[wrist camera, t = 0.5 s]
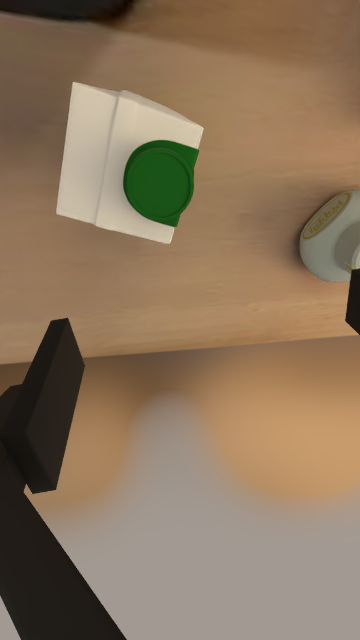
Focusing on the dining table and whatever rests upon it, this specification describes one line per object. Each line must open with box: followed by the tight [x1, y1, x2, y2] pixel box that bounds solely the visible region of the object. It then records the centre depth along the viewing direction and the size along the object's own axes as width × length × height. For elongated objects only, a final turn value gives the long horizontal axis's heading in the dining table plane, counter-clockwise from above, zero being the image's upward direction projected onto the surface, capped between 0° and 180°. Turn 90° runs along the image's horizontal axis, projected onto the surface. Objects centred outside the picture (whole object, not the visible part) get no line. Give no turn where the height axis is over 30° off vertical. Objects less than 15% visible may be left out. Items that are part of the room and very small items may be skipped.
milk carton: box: [56, 82, 203, 244], centre depth 28 cm, size 9×9×20 cm
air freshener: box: [300, 190, 360, 282], centre depth 39 cm, size 11×8×10 cm
